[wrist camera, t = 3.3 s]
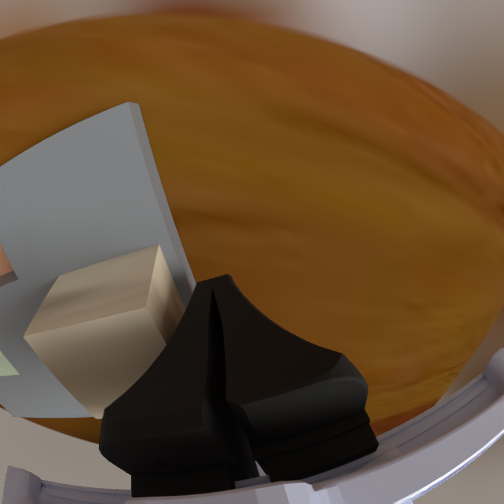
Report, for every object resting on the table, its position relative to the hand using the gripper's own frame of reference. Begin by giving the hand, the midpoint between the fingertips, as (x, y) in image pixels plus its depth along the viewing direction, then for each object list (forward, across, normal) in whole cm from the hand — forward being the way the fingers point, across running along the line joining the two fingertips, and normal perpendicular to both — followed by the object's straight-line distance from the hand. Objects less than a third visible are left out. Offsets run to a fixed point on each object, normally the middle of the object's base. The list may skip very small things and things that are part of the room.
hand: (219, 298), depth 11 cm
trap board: (+3, +11, 0) cm, 12 cm away
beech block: (+1, +4, 0) cm, 4 cm away
